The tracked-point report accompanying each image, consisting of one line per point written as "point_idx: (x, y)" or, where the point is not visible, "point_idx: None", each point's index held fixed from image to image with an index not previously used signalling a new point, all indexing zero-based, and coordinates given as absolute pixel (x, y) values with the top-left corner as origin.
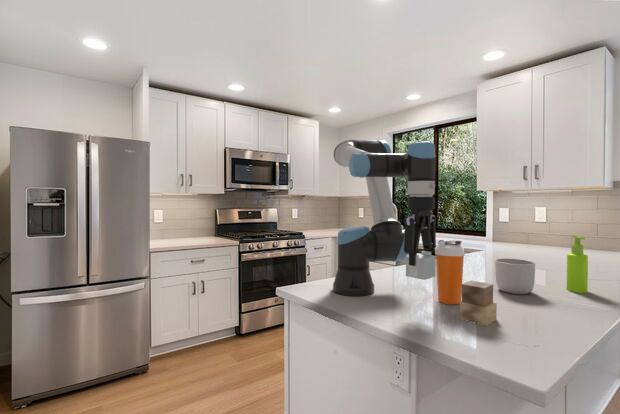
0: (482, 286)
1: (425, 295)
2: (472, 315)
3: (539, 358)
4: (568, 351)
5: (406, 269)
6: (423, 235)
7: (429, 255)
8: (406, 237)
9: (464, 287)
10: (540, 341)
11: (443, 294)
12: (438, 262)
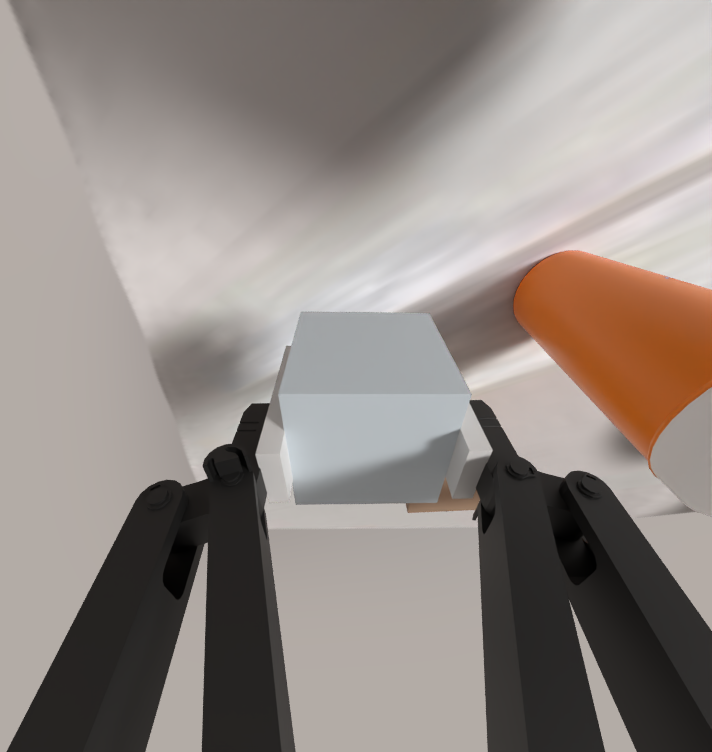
0: (426, 504)
1: (615, 165)
2: None
3: (305, 510)
4: (365, 520)
5: (296, 335)
6: (503, 663)
7: (431, 479)
8: (58, 696)
9: None
10: None
11: (532, 305)
12: (657, 357)
